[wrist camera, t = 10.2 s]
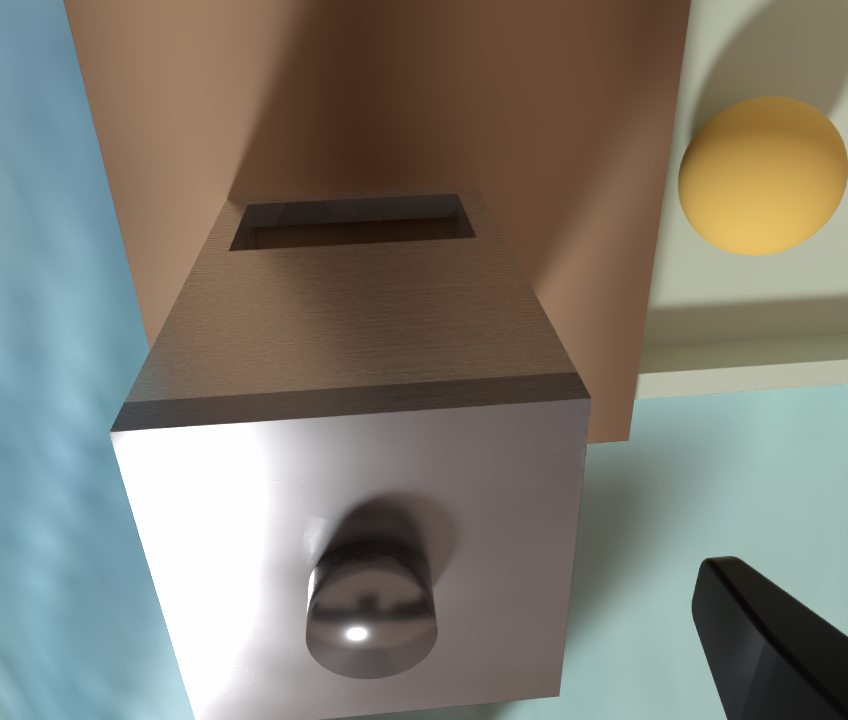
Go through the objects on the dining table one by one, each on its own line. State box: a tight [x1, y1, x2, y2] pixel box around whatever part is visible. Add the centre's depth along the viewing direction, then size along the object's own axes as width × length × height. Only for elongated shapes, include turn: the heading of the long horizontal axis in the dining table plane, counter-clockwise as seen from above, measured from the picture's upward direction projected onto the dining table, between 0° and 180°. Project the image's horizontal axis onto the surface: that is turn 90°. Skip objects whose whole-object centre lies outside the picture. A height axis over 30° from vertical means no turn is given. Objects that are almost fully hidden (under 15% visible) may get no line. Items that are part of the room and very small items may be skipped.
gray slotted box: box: [109, 186, 592, 720], centre depth 13 cm, size 5×5×9 cm
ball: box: [678, 96, 848, 256], centre depth 16 cm, size 4×4×4 cm
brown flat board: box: [63, 0, 691, 444], centre depth 17 cm, size 12×14×2 cm
